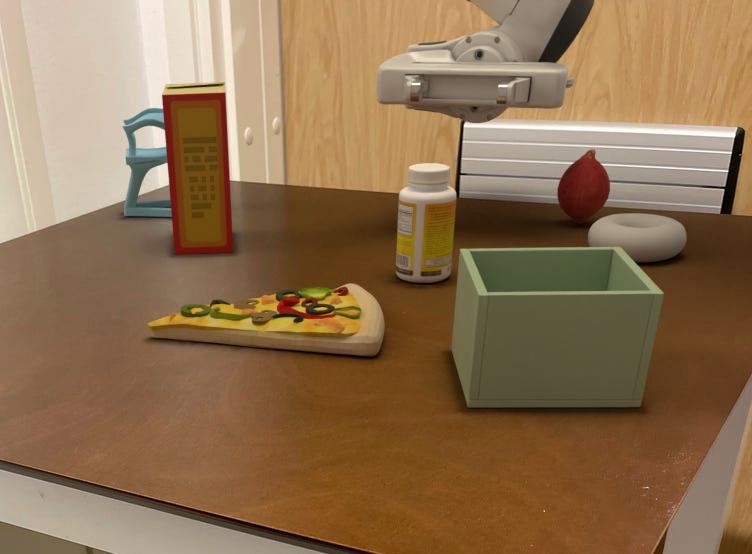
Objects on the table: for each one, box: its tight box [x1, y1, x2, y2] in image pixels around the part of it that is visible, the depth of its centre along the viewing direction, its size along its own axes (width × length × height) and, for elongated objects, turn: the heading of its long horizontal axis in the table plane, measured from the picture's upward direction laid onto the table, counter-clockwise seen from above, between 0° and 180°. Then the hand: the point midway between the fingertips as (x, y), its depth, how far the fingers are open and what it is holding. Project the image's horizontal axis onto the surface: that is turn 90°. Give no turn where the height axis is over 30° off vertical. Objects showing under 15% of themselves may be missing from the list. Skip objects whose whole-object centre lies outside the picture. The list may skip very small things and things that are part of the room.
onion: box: [556, 148, 611, 225], centre depth 113 cm, size 6×6×8 cm
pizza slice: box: [146, 282, 386, 357], centre depth 85 cm, size 16×21×3 cm
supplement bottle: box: [395, 162, 457, 284], centre depth 95 cm, size 6×6×10 cm
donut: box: [587, 212, 688, 264], centre depth 103 cm, size 10×3×10 cm
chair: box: [122, 107, 172, 218], centre depth 122 cm, size 8×8×12 cm
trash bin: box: [451, 246, 665, 409], centre depth 73 cm, size 12×12×8 cm
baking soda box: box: [161, 81, 234, 255], centre depth 107 cm, size 10×6×16 cm
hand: (457, 93), depth 99 cm, fingers open, 8 cm apart
